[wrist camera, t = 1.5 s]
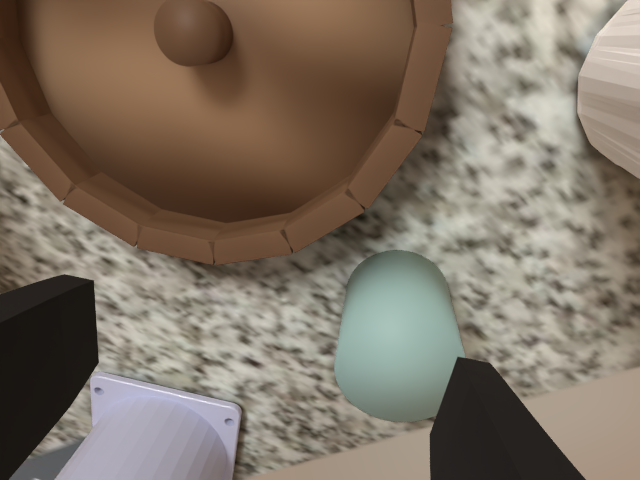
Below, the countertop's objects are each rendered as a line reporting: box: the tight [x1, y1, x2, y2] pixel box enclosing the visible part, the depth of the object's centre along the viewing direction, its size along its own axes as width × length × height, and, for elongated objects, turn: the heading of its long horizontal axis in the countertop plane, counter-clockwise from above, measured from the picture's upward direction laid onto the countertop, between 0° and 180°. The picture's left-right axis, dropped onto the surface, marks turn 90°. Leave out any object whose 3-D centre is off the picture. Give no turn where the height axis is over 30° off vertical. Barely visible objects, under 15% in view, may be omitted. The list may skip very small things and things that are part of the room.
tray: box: [0, 0, 453, 265], centre depth 15 cm, size 16×16×2 cm
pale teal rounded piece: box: [335, 250, 465, 422], centre depth 18 cm, size 4×4×5 cm
